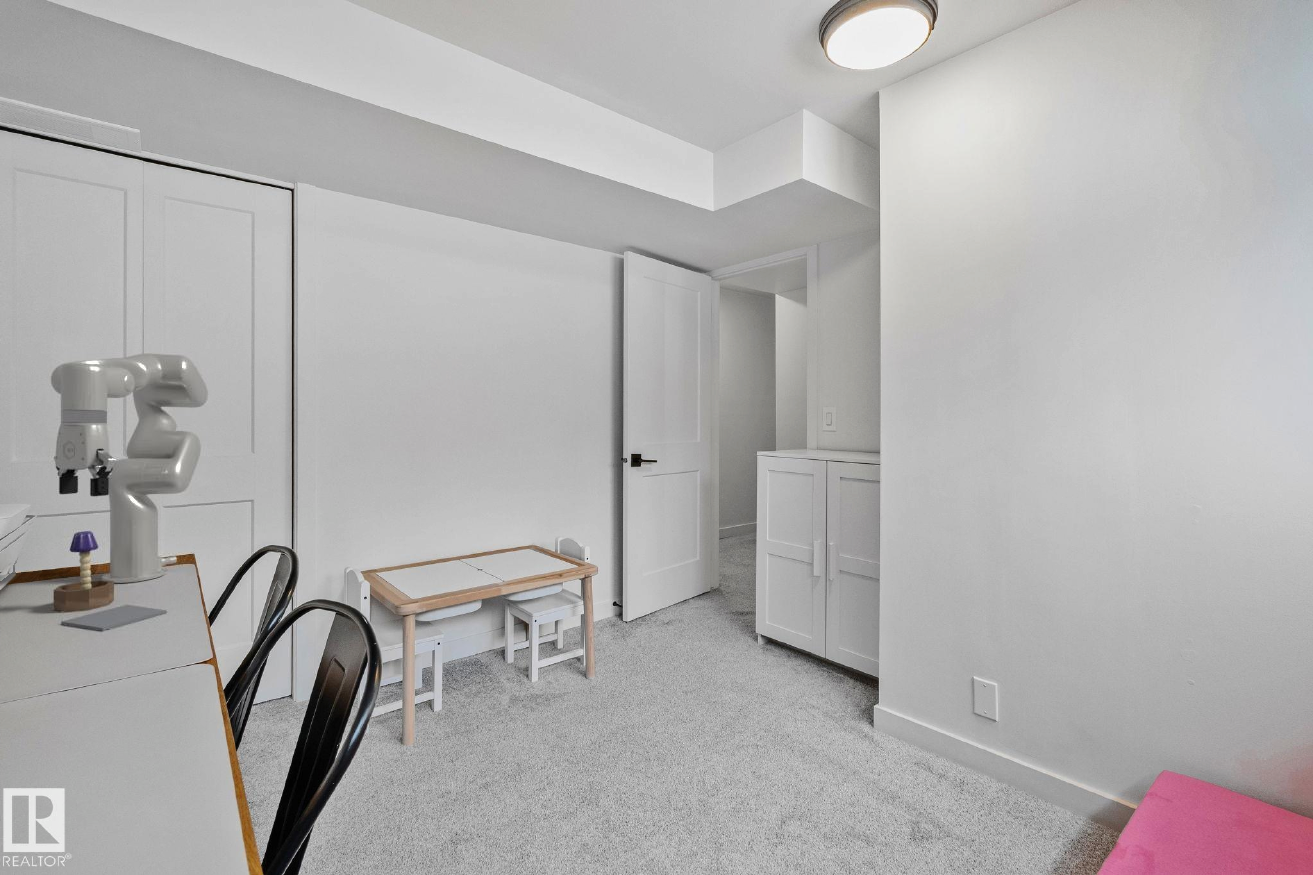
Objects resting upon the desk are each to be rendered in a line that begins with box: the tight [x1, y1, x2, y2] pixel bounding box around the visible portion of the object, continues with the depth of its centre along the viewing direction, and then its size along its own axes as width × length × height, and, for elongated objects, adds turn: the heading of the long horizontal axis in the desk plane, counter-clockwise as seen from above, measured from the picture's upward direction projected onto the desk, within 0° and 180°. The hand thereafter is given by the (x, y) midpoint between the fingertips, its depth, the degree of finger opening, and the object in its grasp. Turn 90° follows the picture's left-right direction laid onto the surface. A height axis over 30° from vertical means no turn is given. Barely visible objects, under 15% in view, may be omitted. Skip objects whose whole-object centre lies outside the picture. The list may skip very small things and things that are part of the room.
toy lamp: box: [69, 530, 99, 590], centre depth 134 cm, size 5×5×17 cm
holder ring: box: [53, 579, 115, 613], centre depth 135 cm, size 9×9×4 cm
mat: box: [60, 604, 168, 632], centre depth 127 cm, size 12×12×1 cm
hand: (83, 494), depth 134 cm, fingers open, 9 cm apart
